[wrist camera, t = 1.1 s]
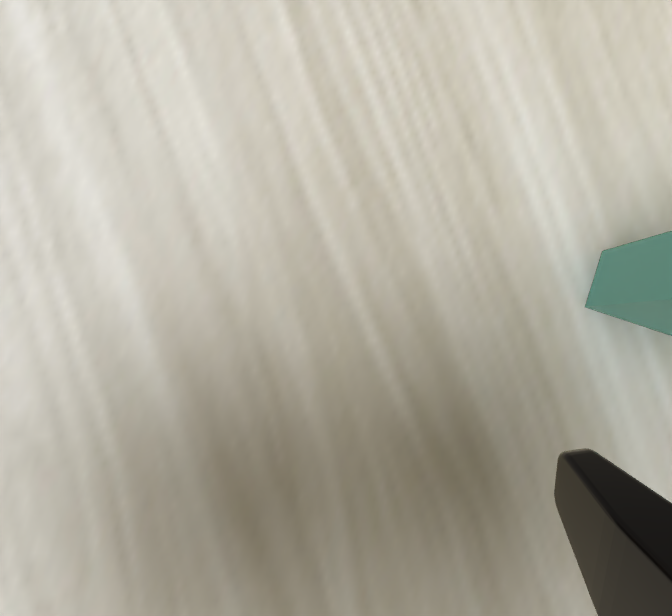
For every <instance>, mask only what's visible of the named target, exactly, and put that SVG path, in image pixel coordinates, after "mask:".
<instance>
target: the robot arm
mask: <svg viewBox="0 0 672 616" xmlns="http://www.w3.org/2000/svg"><path fill="white" fill-rule="evenodd" d="M554 496H555V502H556V506H557V509H558V512H559V515H560V517H561V520H562V523H563V525H564V528H565V531H566V533H567V536H568V539H569V541H570V544H571V546H572V549H573V552H574V554H575V557H576V560H577V562H578V565H579V568H580V570H581V573H582V576H583V578H584V581H585V583H586V586H587V589H588V591H589V594H590V597H591V599H592V602H593V604H594V607H595V609H596V611H597V614H598V616H672V503H671V502H669V501H668V500H666V499H665V498H663V497H662V496H660V495H659V494H657V493H656V492H654V491H653V490H651V489H650V488H648V487H647V486H645V485H644V484H642V483H641V482H639V481H638V480H636V479H635V478H633V477H632V476H631V475H629V474H628V473H626V472H625V471H623V470H622V469H620V468H619V467H617V466H616V465H614V464H613V463H611V462H610V461H608V460H607V459H605V458H604V457H602V456H601V455H599V454H598V453H596V452H595V451H593V450H590V449H578V450H571V451H565V452H562V453H561V454H560V455H559V458H558V463H557V472H556V481H555V490H554Z"/></svg>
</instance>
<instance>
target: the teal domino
mask: <svg viewBox="0 0 672 616" xmlns="http://www.w3.org/2000/svg"><path fill="white" fill-rule="evenodd" d="M585 307H586V308H589V309H592V310H595V311H598V312H601V313H604V314H607V315H610V316H613V317H616V318H619V319H623V320H626V321H629V322H632V323H635V324H638V325H641V326H644V327H647V328H650V329H653V330H656V331H659V332H662V333H665V334H668V335H671V336H672V231H670V232H666V233H663V234H659V235H656V236H652V237H649V238H646V239H642V240H639V241H635V242H632V243H628V244H625V245H622V246H618V247H615V248H611V249H608V250H604V251H602V254H601V257H600V260H599V264H598V267H597V270H596V273H595V276H594V280H593V283H592V286H591V289H590V292H589V296H588V299H587V302H586V305H585Z"/></svg>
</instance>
